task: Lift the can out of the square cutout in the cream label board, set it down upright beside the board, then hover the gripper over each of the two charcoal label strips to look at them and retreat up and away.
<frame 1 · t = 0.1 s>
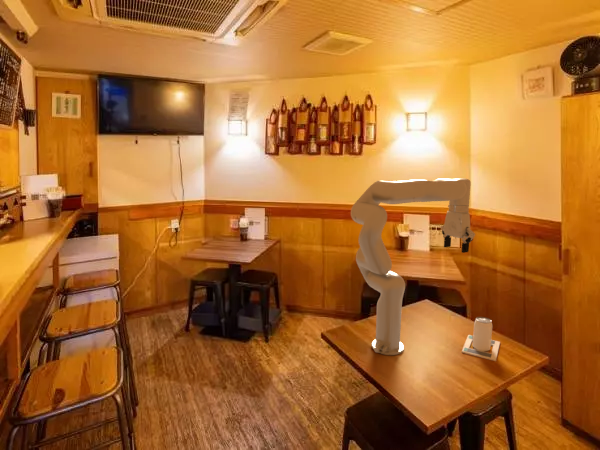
hand: (455, 249, 158), 37 cm above the table, tool pointing down, fingers open, 9 cm apart
can: (481, 348, 152), resting in label board
label board: (481, 347, 152), on the table
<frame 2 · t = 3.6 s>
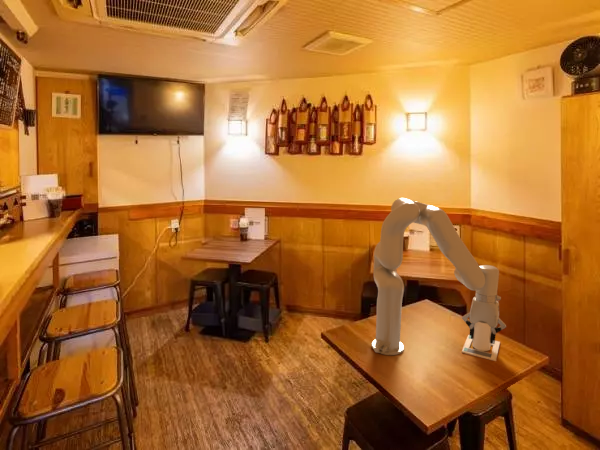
hand: (481, 339, 151), 4 cm above the table, tool pointing down, fingers closed on can, 6 cm apart
can: (481, 348, 152), resting in label board, touching gripper
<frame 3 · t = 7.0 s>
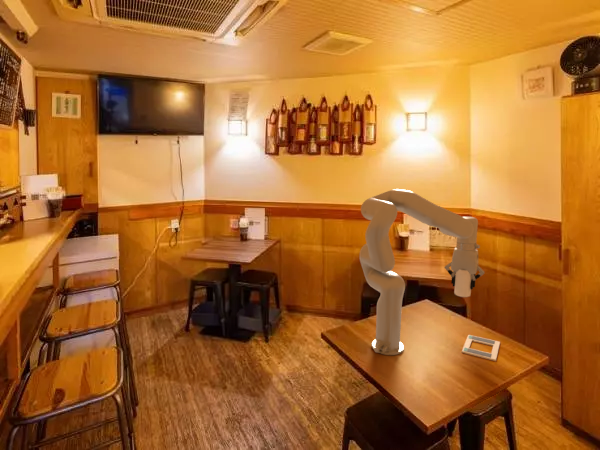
hand: (462, 286, 162), 21 cm above the table, tool pointing down, fingers closed on can, 6 cm apart
can: (462, 295, 163), point 17 cm above the table, touching gripper
when the fingers open (5 cm above the table, at t = 10.6 s): can drops 1 cm, on the table.
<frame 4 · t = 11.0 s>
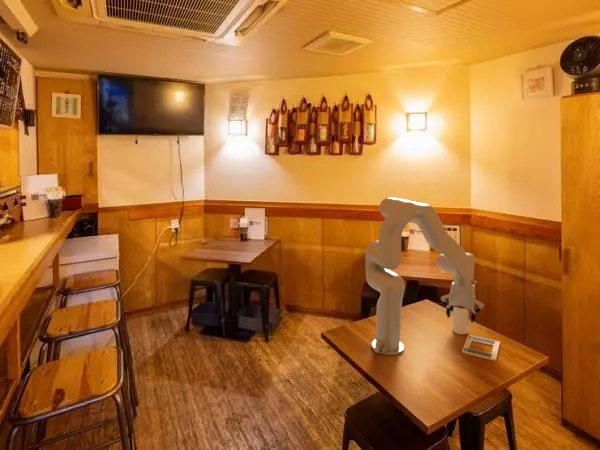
hand: (460, 318, 165), 6 cm above the table, tool pointing down, fingers open, 9 cm apart
can: (459, 331, 166), on the table
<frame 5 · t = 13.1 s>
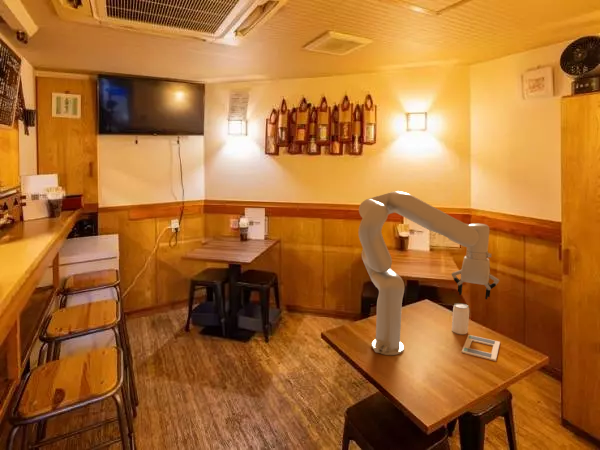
hand: (473, 296, 153), 20 cm above the table, tool pointing down, fingers open, 9 cm apart
nothing on the table moved.
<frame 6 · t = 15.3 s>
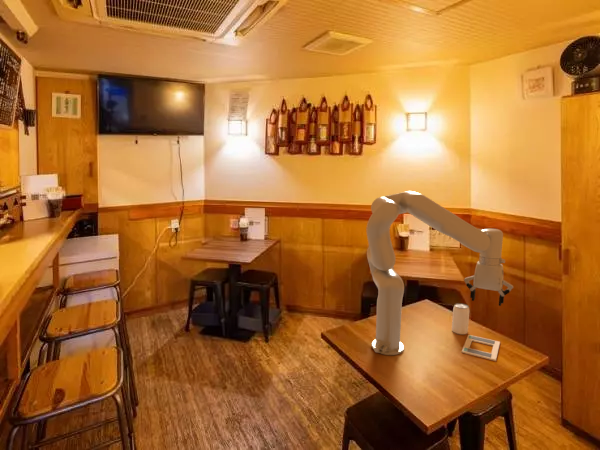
hand: (486, 302, 150), 19 cm above the table, tool pointing down, fingers open, 9 cm apart
nothing on the table moved.
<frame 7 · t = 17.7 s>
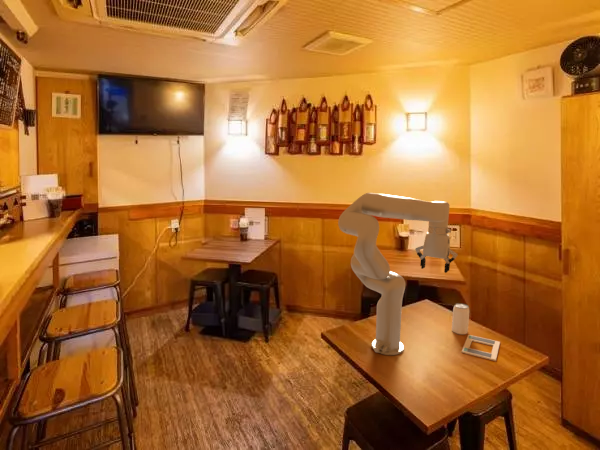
hand: (434, 270, 162), 28 cm above the table, tool pointing down, fingers open, 9 cm apart
nothing on the table moved.
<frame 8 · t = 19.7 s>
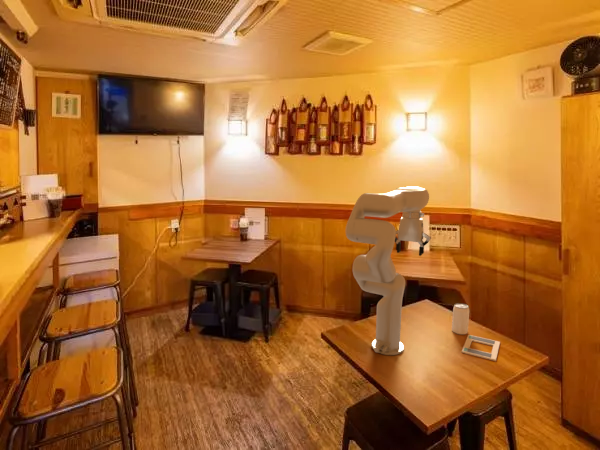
hand: (409, 253, 167), 33 cm above the table, tool pointing down, fingers open, 9 cm apart
nothing on the table moved.
at the end: can inside the target area (0.1 cm from its centre), on the table; can tilted 0°; the gripper is holding nothing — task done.
